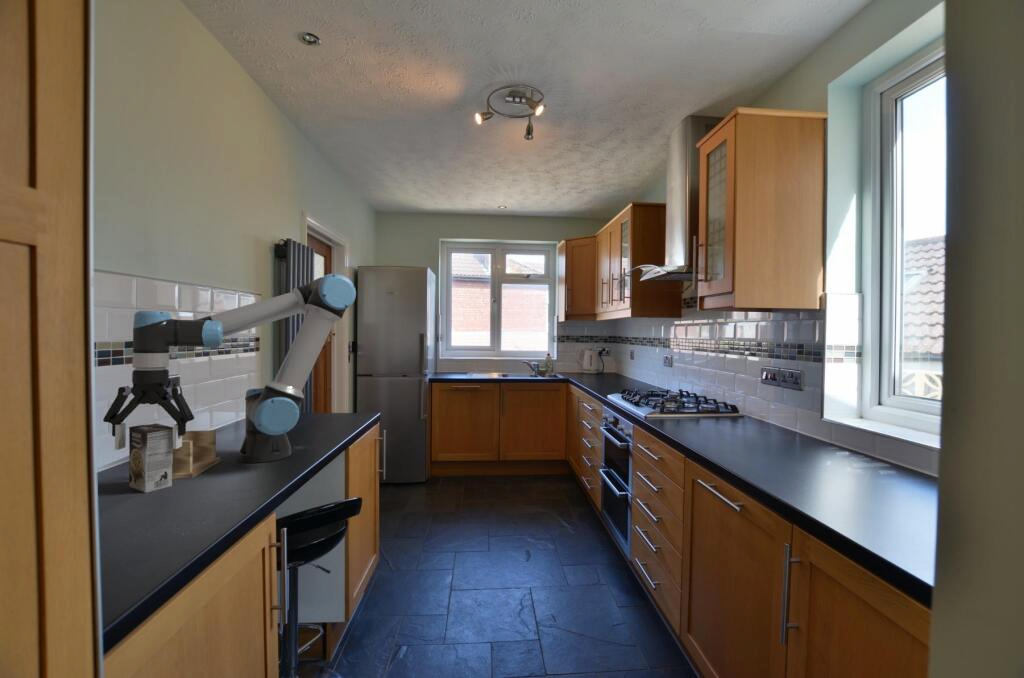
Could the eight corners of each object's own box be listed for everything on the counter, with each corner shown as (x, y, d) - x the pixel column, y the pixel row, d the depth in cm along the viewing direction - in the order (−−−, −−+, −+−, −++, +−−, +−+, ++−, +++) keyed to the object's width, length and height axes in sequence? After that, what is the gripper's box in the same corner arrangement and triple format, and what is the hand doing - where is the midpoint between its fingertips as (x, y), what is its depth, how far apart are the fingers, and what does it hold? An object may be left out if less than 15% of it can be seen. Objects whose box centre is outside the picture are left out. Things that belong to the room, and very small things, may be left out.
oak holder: (220, 461, 139) (220, 429, 139) (191, 478, 123) (192, 442, 123) (179, 462, 137) (179, 430, 137) (144, 479, 121) (144, 443, 121)
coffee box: (127, 487, 116) (127, 426, 115) (156, 480, 121) (156, 422, 121) (144, 493, 111) (144, 430, 111) (173, 485, 117) (173, 426, 117)
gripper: (209, 368, 122) (207, 444, 122) (108, 367, 117) (106, 445, 117) (194, 370, 114) (192, 451, 114) (86, 369, 110) (84, 452, 110)
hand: (149, 448), depth 116 cm, fingers open, 13 cm apart
